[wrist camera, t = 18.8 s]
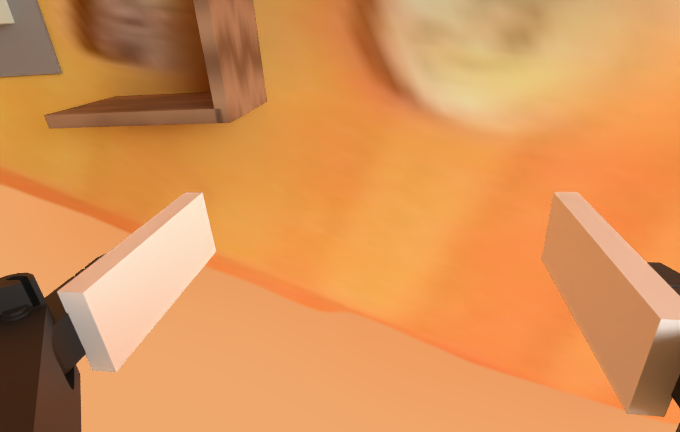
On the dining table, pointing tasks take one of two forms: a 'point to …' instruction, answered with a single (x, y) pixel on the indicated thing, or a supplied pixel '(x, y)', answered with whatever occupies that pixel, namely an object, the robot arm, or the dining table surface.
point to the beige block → (5, 13)
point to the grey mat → (26, 42)
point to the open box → (193, 108)
